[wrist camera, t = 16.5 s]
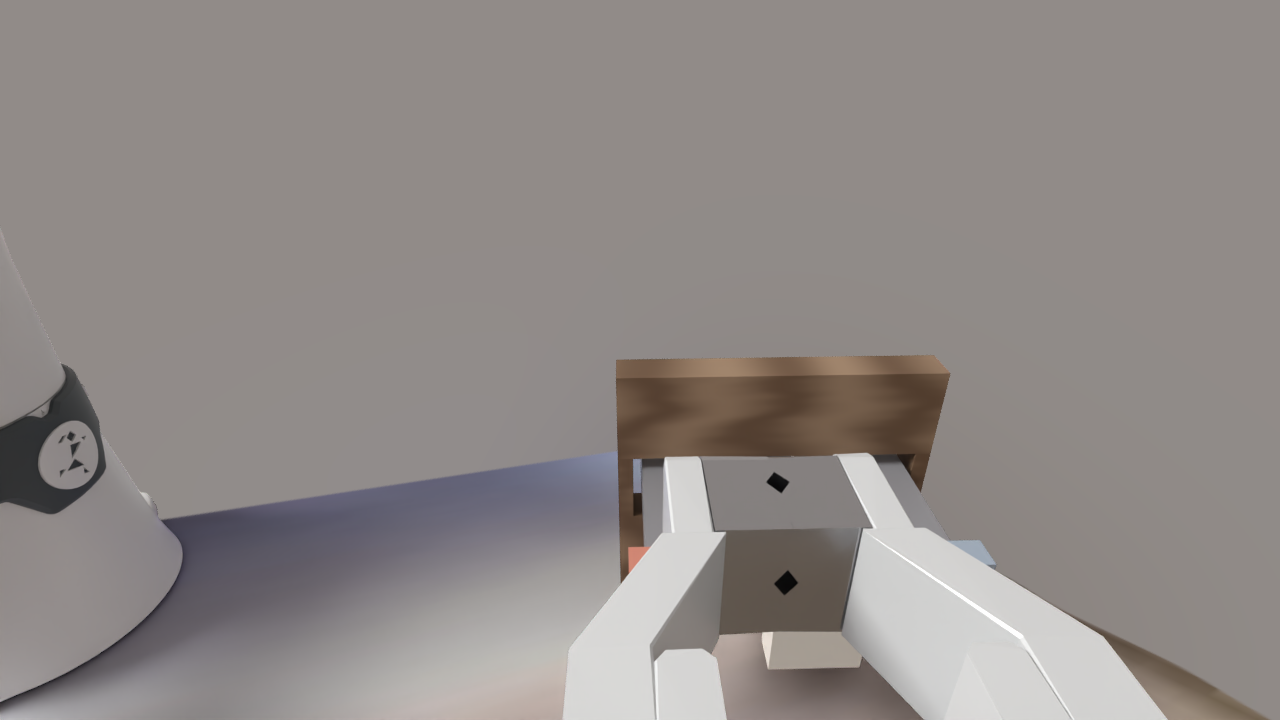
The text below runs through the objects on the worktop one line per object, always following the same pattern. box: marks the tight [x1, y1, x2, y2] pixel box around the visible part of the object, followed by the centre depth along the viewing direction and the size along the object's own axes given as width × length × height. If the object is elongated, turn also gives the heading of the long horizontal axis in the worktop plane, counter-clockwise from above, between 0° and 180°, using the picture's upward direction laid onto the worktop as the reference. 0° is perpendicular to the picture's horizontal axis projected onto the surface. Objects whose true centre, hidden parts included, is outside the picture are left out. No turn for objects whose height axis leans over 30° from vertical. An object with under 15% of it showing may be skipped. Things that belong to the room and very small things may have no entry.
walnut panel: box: [616, 355, 950, 583], centre depth 38 cm, size 17×2×16 cm, turn 91°
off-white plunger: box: [762, 456, 862, 670], centre depth 33 cm, size 4×12×4 cm, turn 1°
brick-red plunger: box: [628, 458, 665, 573], centre depth 35 cm, size 4×12×4 cm, turn 2°
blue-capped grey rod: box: [872, 454, 996, 570], centre depth 35 cm, size 4×12×4 cm, turn 1°
